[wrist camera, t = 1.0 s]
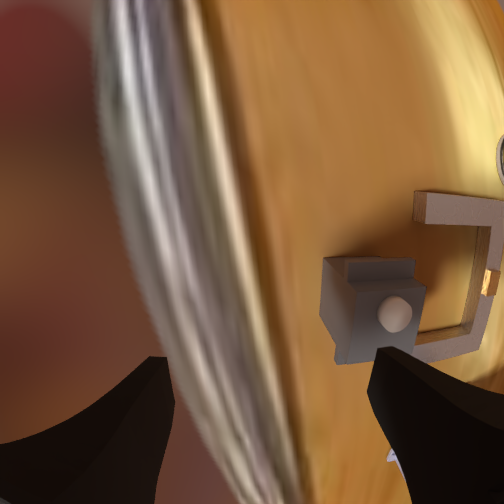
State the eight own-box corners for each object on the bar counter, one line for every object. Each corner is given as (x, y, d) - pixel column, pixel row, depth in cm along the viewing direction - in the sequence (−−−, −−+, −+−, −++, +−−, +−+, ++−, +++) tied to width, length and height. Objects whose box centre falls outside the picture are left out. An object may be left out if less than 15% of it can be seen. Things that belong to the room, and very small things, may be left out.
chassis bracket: (469, 341, 22) (481, 352, 20) (391, 358, 21) (402, 372, 19) (494, 199, 18) (511, 202, 16) (414, 190, 18) (431, 193, 16)
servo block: (370, 322, 20) (413, 376, 14) (318, 327, 20) (348, 388, 14) (380, 241, 19) (438, 272, 12) (323, 242, 19) (366, 277, 12)
